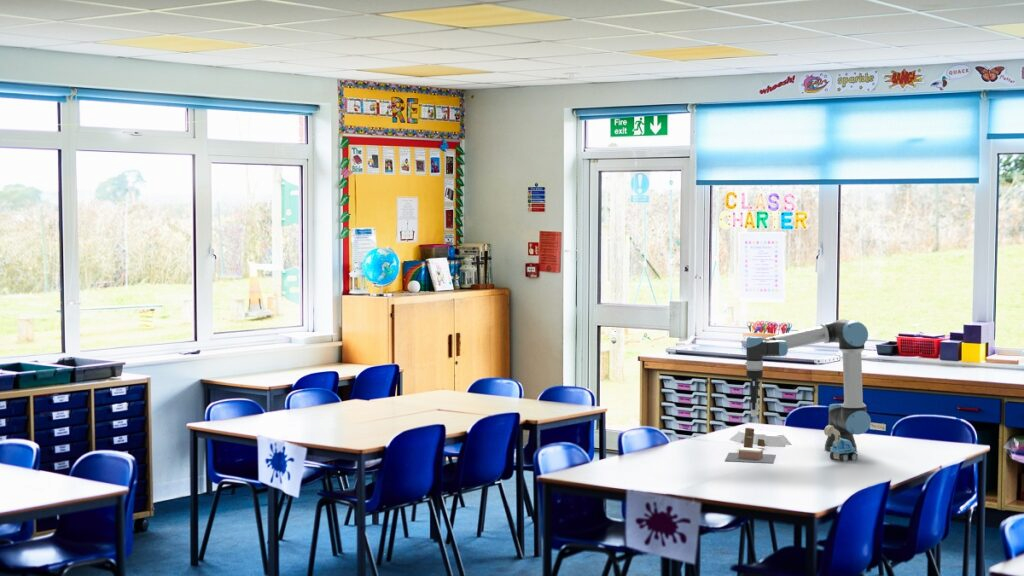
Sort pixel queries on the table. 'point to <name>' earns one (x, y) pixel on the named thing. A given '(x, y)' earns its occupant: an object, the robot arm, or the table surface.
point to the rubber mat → (766, 459)
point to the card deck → (750, 453)
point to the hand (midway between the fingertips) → (754, 414)
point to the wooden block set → (751, 439)
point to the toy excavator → (840, 446)
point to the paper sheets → (764, 438)
